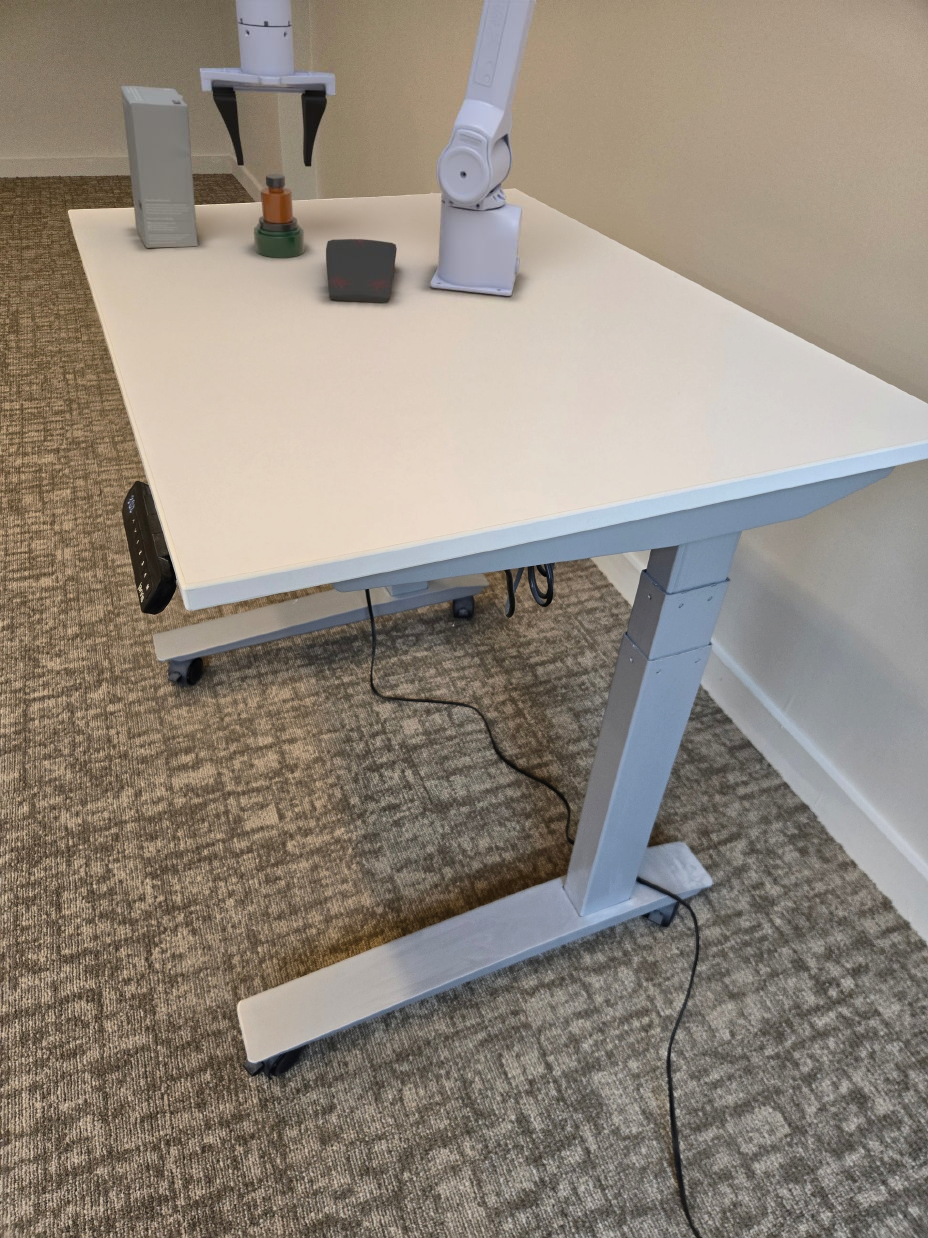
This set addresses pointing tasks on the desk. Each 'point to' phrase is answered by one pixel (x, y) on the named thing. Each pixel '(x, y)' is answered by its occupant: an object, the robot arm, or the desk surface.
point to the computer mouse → (360, 269)
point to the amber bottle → (276, 200)
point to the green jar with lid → (279, 239)
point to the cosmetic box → (160, 166)
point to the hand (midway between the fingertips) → (274, 163)
